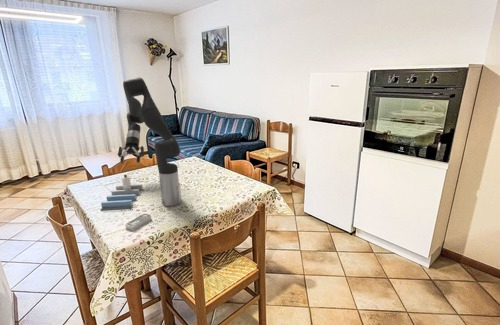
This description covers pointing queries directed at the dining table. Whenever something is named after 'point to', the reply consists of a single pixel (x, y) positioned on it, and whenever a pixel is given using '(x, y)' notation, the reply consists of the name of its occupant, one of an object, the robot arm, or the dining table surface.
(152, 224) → the dining table surface
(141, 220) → the multiport hub
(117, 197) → the grey blue ridged block
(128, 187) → the white bottle with cap
